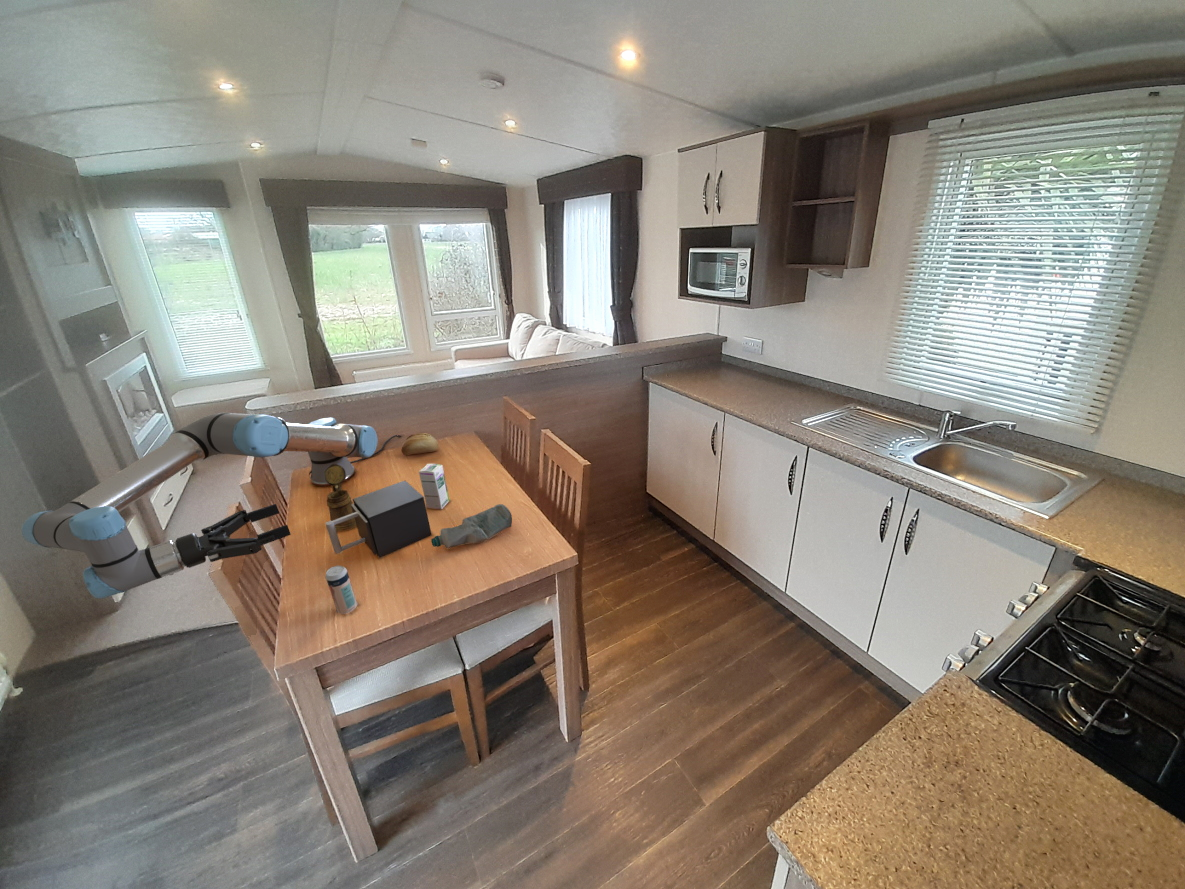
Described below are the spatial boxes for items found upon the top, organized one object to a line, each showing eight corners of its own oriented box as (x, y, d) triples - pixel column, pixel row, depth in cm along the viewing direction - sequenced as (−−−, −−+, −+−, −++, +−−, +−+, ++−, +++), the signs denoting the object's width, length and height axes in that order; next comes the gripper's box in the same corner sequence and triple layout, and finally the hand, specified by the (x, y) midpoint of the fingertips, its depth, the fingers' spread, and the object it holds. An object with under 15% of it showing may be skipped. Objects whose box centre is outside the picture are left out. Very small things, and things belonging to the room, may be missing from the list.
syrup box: (442, 509, 160) (434, 472, 154) (426, 508, 162) (418, 470, 155) (449, 500, 166) (443, 463, 159) (434, 499, 167) (427, 462, 160)
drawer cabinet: (379, 558, 138) (368, 517, 132) (363, 537, 147) (352, 498, 141) (431, 535, 147) (423, 496, 141) (413, 517, 157) (405, 480, 151)
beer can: (341, 602, 122) (329, 565, 117) (360, 600, 122) (349, 563, 117) (333, 616, 118) (320, 578, 113) (353, 614, 118) (341, 576, 113)
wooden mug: (361, 506, 164) (348, 460, 156) (361, 527, 152) (347, 478, 145) (333, 513, 161) (318, 465, 153) (330, 534, 149) (314, 484, 142)
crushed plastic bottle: (501, 513, 157) (426, 539, 144) (500, 495, 154) (423, 520, 141) (520, 534, 148) (440, 564, 135) (519, 516, 144) (437, 545, 132)
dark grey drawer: (343, 569, 132) (332, 534, 127) (330, 548, 141) (319, 514, 136) (426, 533, 146) (418, 500, 141) (408, 516, 155) (401, 485, 150)
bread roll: (402, 451, 204) (398, 434, 200) (438, 444, 209) (435, 427, 205) (403, 460, 195) (399, 442, 192) (440, 453, 200) (437, 436, 197)
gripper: (182, 543, 121) (277, 512, 134) (190, 593, 104) (298, 552, 117) (170, 519, 118) (269, 488, 131) (177, 566, 101) (289, 526, 114)
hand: (283, 518), depth 124 cm, fingers open, 13 cm apart
